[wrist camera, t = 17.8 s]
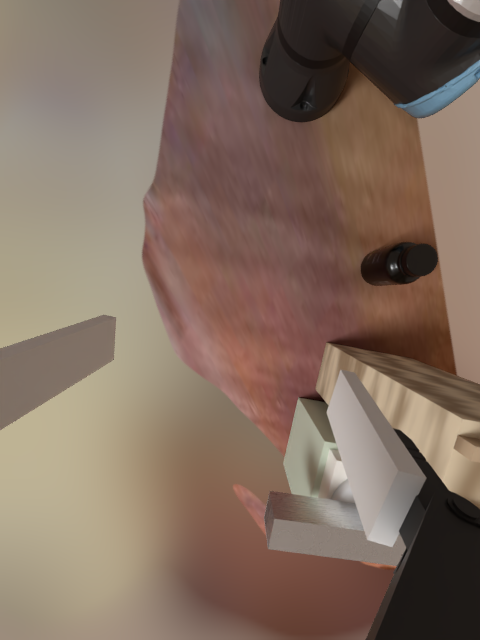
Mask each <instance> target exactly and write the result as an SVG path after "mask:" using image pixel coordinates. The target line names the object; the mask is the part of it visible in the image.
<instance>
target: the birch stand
mask: <svg viewBox="0 0 480 640" xmlns="http://www.w3.org/2000/svg"><path fill="white" fill-rule="evenodd" d="M340 370H346V371H350V372H354V373H356V375H357V376H358V378H359V379H360V381H361V382H362V384H363V385H364V387H365V388H366V390H367V391H368V393H369V394H370V396H371V397H372V398H373V400H374V401H375V403H376V404H377V406H378V407H379V409H380V410H381V412H382V413H383V415H384V416H385V418H386V419H387V421H388V422H389V423H390V425H391V426H392V428H394V429H398V430H401V431H402V432H403V433H404V434H405V435H406V436H408V437H409V438H410V439H411V440H412V441H413V442H414V444H415V445H416V446H417V448H418V449H419V450H420V451H419V452H420V453H422V455H423V456H424V457H425V459H426V461H427V462H428V463H429V464H430V465H431V467H432V468H433V469H434V471H435V472H436V473H437V475H438V476H439V478H440V479H441V480H442V482H443V483H444V484H445V486H446V487H447V488H448V490H449V491H451V492H454V493H456V494H458V495H460V496H462V497H464V498H466V499H467V500H468V501H470V502H471V503H473V504H474V505H475V506H477V507H478V508H479V509H480V385H479V384H477V383H474V382H472V381H469V380H467V379H464V378H461V377H459V376H456V375H454V374H451V373H448V372H446V371H443V370H441V369H438V368H435V367H433V366H430V365H427V364H425V363H422V362H420V361H417V360H414V359H412V358H407V357H401V356H396V355H391V354H386V353H380V352H375V351H370V350H364V349H359V348H354V347H348V346H343V345H338V344H333V343H327V342H326V347H325V351H324V355H323V359H322V364H321V368H320V372H319V376H318V380H317V385H316V391H317V392H318V393H319V394H320V395H321V397H322V398H323V399H324V400H325V402H326V403H327V404H328V405H329V403H330V400H331V397H332V394H333V391H334V388H335V385H336V382H337V379H338V376H339V373H340Z"/></svg>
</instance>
